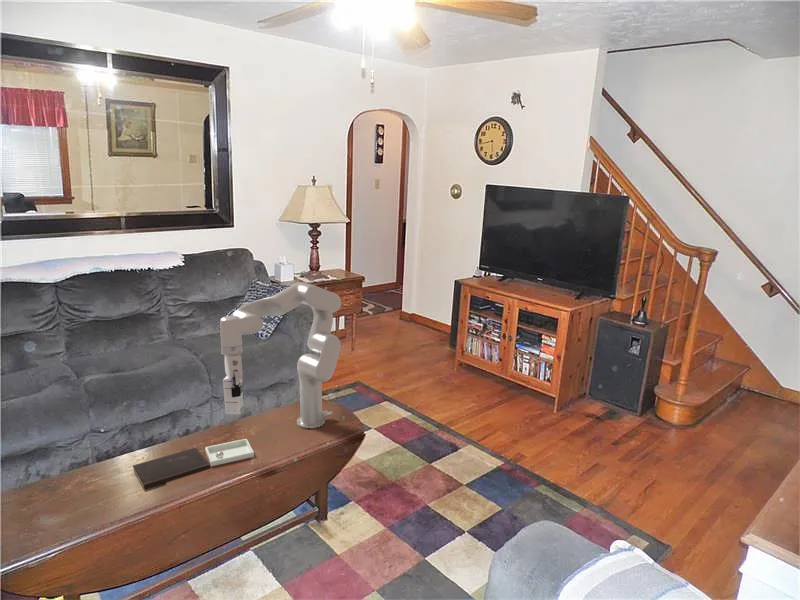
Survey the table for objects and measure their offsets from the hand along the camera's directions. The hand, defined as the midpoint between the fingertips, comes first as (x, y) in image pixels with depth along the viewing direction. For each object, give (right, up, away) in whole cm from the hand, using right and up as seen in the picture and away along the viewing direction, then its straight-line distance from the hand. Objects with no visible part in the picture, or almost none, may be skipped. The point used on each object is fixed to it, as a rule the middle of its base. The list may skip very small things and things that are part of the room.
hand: (233, 392), depth 206 cm
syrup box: (0, -8, +2) cm, 8 cm away
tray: (-3, -25, +4) cm, 26 cm away
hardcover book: (-21, -28, -7) cm, 36 cm away
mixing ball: (-5, -26, 0) cm, 26 cm away
